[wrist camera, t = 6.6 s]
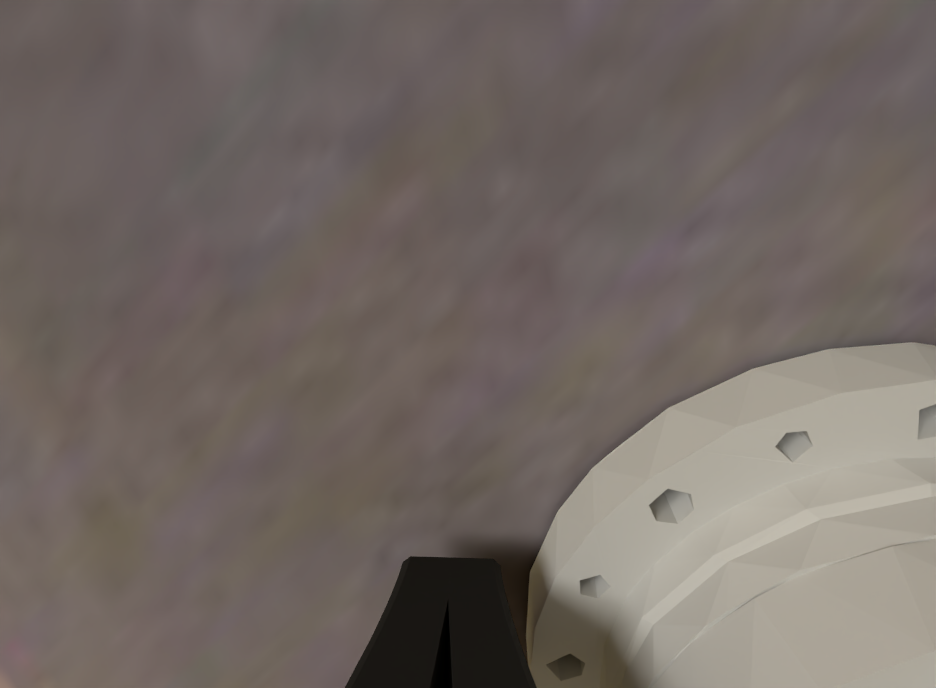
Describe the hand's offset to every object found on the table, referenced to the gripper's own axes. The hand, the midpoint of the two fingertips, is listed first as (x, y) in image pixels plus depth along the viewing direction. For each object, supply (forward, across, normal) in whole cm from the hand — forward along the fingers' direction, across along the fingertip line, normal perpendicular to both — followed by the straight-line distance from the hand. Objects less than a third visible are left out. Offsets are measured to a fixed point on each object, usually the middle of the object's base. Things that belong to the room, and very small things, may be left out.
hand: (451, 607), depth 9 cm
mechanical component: (+2, -6, +1) cm, 6 cm away
